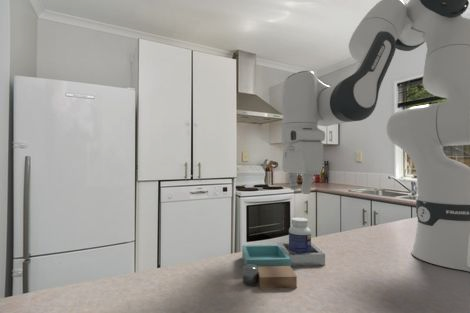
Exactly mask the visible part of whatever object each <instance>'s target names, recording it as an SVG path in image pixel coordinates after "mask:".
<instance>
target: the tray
mask: <svg viewBox="0 0 470 313" xmlns="http://www.w3.org/2000/svg"><path fill="white" fill-rule="evenodd" d="M241 250H242V251H241V252H242V254H241V255H242V256H241V258H242V261H243V266H244V265H246V264H254V265H257V266H258V267H262V266H290V267H291V268H292V266H291V258H290V257H289V256H288V254H287V253H286V252H285V251H284V249H283V248H282V247H281V245H278V244H255V245H254V244H251V245H242V248H241Z"/></svg>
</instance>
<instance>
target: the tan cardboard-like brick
mask: <svg viewBox="0 0 470 313" xmlns="http://www.w3.org/2000/svg"><path fill="white" fill-rule="evenodd" d="M297 280H298V279H297V275H296V273H295V272H294V269H292V266H291V267H290V266H262V267H258V284H257V285H258V288H259V289H260V290H263V289H264V290H266V289H269V290H270V289H271V290H272V289H273V290H274V289H275V290H276V289H297V288H298V287H297V285H298V284H297V283H298V281H297Z"/></svg>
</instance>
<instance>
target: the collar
mask: <svg viewBox="0 0 470 313" xmlns="http://www.w3.org/2000/svg"><path fill="white" fill-rule="evenodd" d="M277 245H281V247H282V248H283V249H284V251H285V252H286V253H287V254H288V256H289V257H290V258H291V267H297V266H299V267H300V266H302V267H303V266H326V254H325V253H324V252H323V250H321V249H320V248H318V247H317V246H316V245H315V244H313V242H311V253H289V242H277Z"/></svg>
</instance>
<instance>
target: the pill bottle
mask: <svg viewBox="0 0 470 313" xmlns="http://www.w3.org/2000/svg"><path fill="white" fill-rule="evenodd" d="M290 224H291V225H292V226H290V227H289V228H288V243H289V253H311V243H312V231H311V229H310V228H309V227H308V226H309V220H308V219H307V217H306V218H305V217H298V216H297V217H291V223H290Z"/></svg>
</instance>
